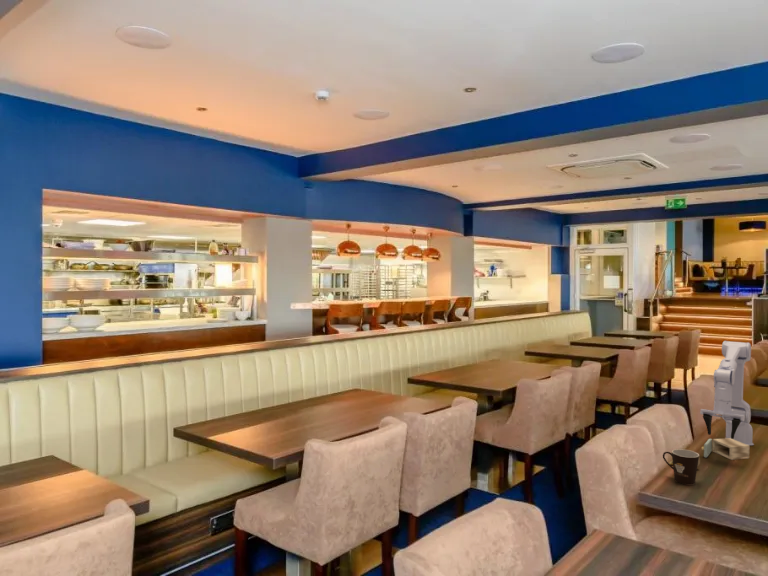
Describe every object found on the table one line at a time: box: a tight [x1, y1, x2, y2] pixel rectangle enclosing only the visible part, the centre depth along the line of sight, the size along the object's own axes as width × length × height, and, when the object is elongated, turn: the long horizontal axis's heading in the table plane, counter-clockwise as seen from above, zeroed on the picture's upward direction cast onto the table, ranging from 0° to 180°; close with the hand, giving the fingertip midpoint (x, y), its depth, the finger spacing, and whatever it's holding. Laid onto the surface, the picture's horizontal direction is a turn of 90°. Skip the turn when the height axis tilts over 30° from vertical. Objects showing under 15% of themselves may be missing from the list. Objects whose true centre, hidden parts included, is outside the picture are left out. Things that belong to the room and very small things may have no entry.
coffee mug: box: [662, 448, 700, 485], centre depth 204 cm, size 12×9×10 cm
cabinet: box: [711, 437, 751, 461], centre depth 230 cm, size 8×10×5 cm
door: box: [701, 438, 713, 458], centre depth 230 cm, size 2×10×5 cm, turn 140°
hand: (720, 436), depth 220 cm, fingers open, 7 cm apart
